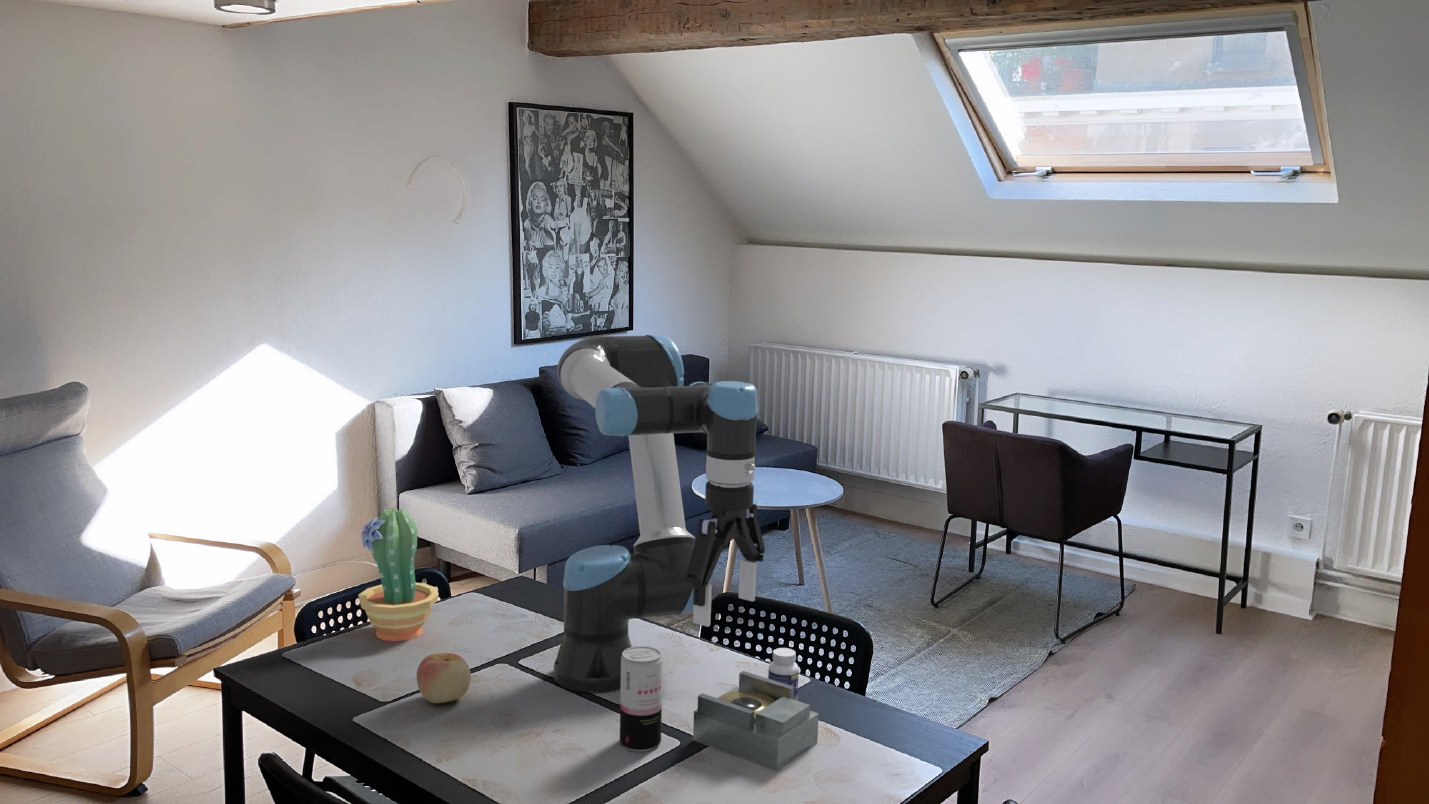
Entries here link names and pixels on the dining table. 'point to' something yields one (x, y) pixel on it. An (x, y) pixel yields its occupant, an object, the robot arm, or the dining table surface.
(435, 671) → the apple
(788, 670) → the pill bottle
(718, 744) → the brass dish housing
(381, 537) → the potted cactus
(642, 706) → the beverage can
